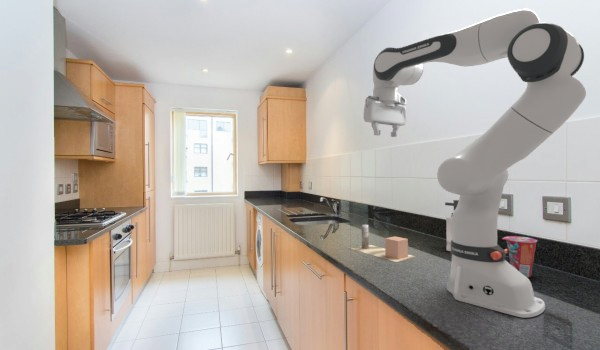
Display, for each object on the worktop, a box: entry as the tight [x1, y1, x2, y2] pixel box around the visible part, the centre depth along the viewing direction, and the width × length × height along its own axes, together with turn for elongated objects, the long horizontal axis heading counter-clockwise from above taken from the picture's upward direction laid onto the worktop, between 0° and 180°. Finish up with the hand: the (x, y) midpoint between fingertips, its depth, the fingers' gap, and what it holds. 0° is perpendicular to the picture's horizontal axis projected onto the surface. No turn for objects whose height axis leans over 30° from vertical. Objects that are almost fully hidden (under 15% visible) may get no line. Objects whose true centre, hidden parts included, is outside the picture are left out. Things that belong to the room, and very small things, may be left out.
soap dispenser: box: [444, 199, 459, 252], centre depth 127 cm, size 6×9×22 cm
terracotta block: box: [384, 236, 409, 260], centre depth 114 cm, size 6×6×7 cm
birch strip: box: [350, 224, 416, 263], centre depth 120 cm, size 24×12×11 cm, turn 34°
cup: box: [501, 235, 538, 278], centre depth 97 cm, size 9×8×12 cm
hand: (385, 136), depth 108 cm, fingers open, 8 cm apart
